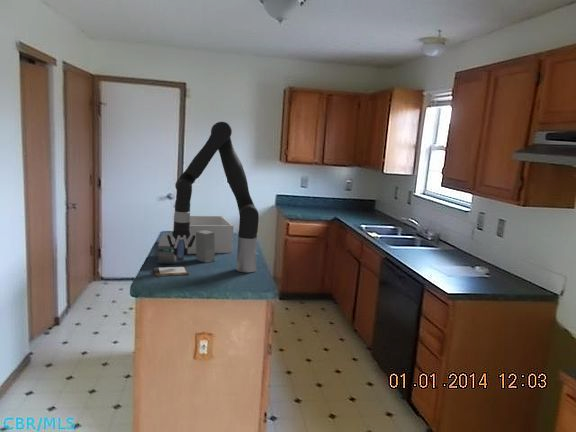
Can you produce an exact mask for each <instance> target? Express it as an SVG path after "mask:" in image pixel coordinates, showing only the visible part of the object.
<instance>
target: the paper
mask: <svg viewBox="0 0 576 432" xmlns="http://www.w3.org/2000/svg"><path fill="white" fill-rule="evenodd" d="M184 267H185V266H173V267H172V266H171V267H168V266H166V267H158V268H159V272H160V274H170V273H186V270H185V268H184Z"/></svg>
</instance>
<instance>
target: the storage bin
mask: <svg viewBox="0 0 576 432" xmlns="http://www.w3.org/2000/svg"><path fill="white" fill-rule="evenodd" d="M234 226H235V225H234V224H232V223H231V222H230V221H229V220H228V219H226V218H225V217H224V216H222V215H221V216H220V215H218V216H217V215H190V230H189V231H190V234H192V235H195V239H194V242H193V244H192V246H191V247H189V248H188V250H187V255H191V254H193V255H194V254H195V255H196V232H198V231H204V230H206V231H210V232H214V247H215V254H232V253H233V245H234V228H235V227H234ZM190 240H191V238H190V236H189V238H188V239H187V244H189V242H190Z"/></svg>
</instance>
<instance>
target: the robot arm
mask: <svg viewBox="0 0 576 432" xmlns="http://www.w3.org/2000/svg"><path fill="white" fill-rule="evenodd" d="M232 129H233V128H232V127H231V125H230V124H229V123H228V122H226V121H218V122H216V123H214V124H213V125H212V126H211V130H210V135H209V138H207V141H206V142H205V144H204V145H203V146H202V148H201V149H200V150H199V151H198V153H196V155H195V156H194V157H193V158H192V160H191V162H190V163H189V164H188V165H187V168H186V169H185V170H184V172H183V173H182V174H181V175H180V176H179V177H178V179H177V180H176V182H175V186H174V187H175V189H176V200H175V203H174V215H173V231H172V233H170V234H166V235H167V238H168V241H169V244H170V247H173V248H174V252H173V253H174V255H175V256H177V245H178V242H179V239H180V237H183V238H184V244H185V251H184V257H187V255H188V254H187V250H188V248H189V247H191V246H192V244H193V242H194V239H195V235H192V234H190V231H189V230H190V216H191V200H192V199H191V198H192V193H193V183H194V182H195V181H196V180H197V179H198V178H200V177H201V175H202V174H203V172H204V171H205V169H206V168H207V166H208V165H209V164H210V162H211V160H212V158H213V157H214V156H215V154H216V153H217V152H218V153H219V156H220V160H221V164H222V165H221V166H222V168H223V171H224V174H225V177H226V180H227V183H228V185H229V188H230V189H231V192H232V194H233V195H234V197H235V202H236V204H237V210H238V215H239V221H238V222H239V224H238V225H239V226H238V233H237V234H238V237H237V255H236V268H235V269H236V271H237V272H240V273H252V272H253V273H254V272H256V271H257V261H258V259H257V257H258V253H257V240H258V232H259V219H260V217H259V216H260V215H259V212H258V209H257V208H256V207H257V206H255V204H254V201H253V199H252V197H251V194H250V190H249V186H248V179H247V175H246V172H245V170H244V166H243V164H242V162H241V159H240V158H239V156H238V154H237V153H236V151H235V148H234V146H233V142H232V138H231V137H232V132H233V131H232ZM172 236H173V237H174V238H175V243H174V244H172V241H171V239H172ZM189 236H190V238H191V240H190V242H189V244H187V239H188V238H189Z"/></svg>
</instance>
